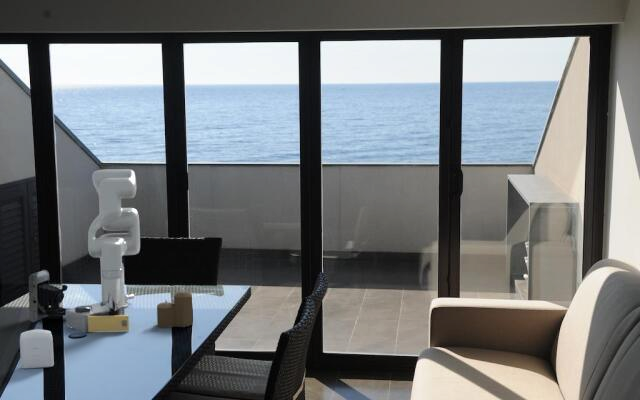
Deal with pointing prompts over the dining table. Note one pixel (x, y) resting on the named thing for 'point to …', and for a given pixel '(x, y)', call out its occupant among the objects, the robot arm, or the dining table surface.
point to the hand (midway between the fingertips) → (113, 320)
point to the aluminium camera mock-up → (77, 315)
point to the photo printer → (36, 349)
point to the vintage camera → (44, 297)
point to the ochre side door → (106, 323)
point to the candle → (175, 311)
